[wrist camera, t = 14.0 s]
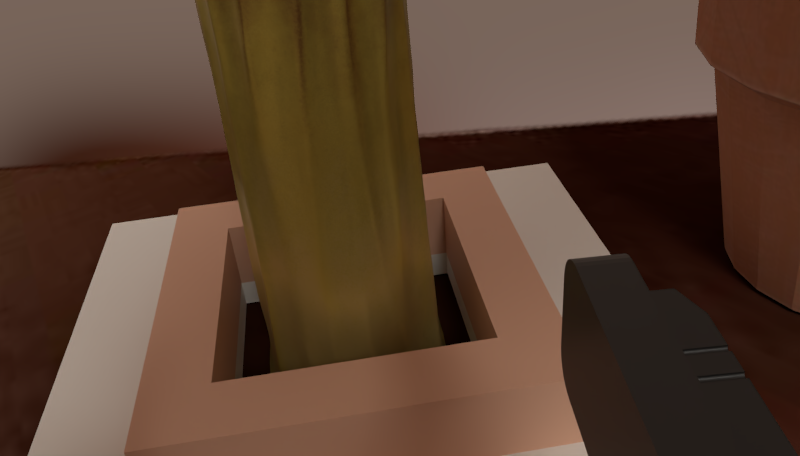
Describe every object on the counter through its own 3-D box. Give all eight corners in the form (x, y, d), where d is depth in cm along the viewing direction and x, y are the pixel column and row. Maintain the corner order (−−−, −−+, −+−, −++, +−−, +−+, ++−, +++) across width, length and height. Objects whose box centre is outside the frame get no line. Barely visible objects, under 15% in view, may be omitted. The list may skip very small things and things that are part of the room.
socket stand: (546, 181, 34) (548, 113, 33) (801, 568, 18) (835, 474, 16) (118, 242, 33) (95, 174, 31) (-46, 728, 16) (-119, 646, 14)
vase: (415, 288, 28) (379, -110, 21) (474, 395, 23) (455, -77, 16) (260, 327, 27) (160, -80, 19) (287, 450, 22) (167, -33, 14)
